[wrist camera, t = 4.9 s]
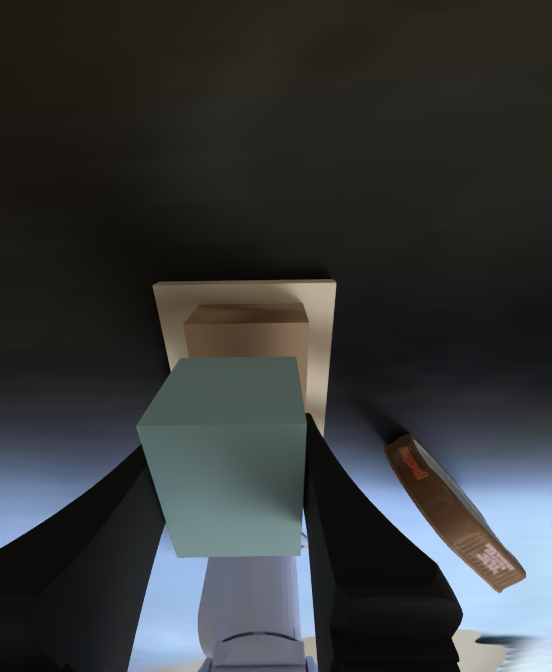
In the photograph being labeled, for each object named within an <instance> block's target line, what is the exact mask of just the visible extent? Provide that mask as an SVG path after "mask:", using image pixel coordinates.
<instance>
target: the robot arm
mask: <svg viewBox="0 0 552 672" xmlns="http://www.w3.org/2000/svg"><path fill="white" fill-rule="evenodd" d="M305 415H306V422H307V430H306V451H305V471H304V492H303V509H304V515H305V521H306V529H307V537H308V539H307V538H306V537H305V536H303V535H302V534H301V549H304V548H306V547H308V548H309V560H310V572H311V584H312V596H313V609H314V622H315V635H316V647H317V660H318V661H317V662H318V666H317V664H316V663H315V662H314V659H313V657H311V656H306V658H305V651H304V642H303V641H301V626H300V611H299V596H298V580H297V565H296V556H245V557H209V558H208V564H207V569H206V574H205V580H204V585H203V590H202V595H201V601H200V606H199V612H198V634H199V641H200V645H201V648H202V650H203V652H204V654H205V655H206V657H207V659H206V660H205V661H204V663H203V665H202V666H201V668H200V669H199V670H198V672H460V669H459V667H458V665H457V662H459V655H458V653H457V650H456V648H455V646H454V643H453V641H452V636H453V635H454V633H455V632H456V630H457V629H458V627H459V625H460V623H461V621H462V617H463V612H462V609H461V607H460V605H459V602H458V600H457V598H456V596H455V594H454V592H453V590H452V588H451V587H450V585H449V583H448V581H447V580H446V578H445V576H444V575H443V573H442V571H441V570H440V568H439V566H438V565H437V563H435V562H434V561H433V560H432V559H431V558H429V557H428V556H427V555H426V554H425V553H424V552H422V551H421V550H420V549H419V548H418V547H417V546H416V545H414V544H413V543H412V542H411V541H410V540H409V539H408V538H407V537H406V536H405V535H403V534H402V533H401V532H400V531H399V530H398V529H397V528H396V527H395V526H394V525H393V524H392V523H391V522H390V521H389V520H388V519H387V518H386V517H385V516H384V515H383V514H382V513H381V512H380V511H379V510H378V509H377V508H376V507H375V506H374V505H373V504H372V502H371V501H370V500H369V499H368V498H367V497H366V496H365V495H364V493H363V492H362V491H361V490H360V489H359V488H358V486H357V485H356V484H355V483H354V482H353V480H352V479H351V478H350V477H349V475H348V474H347V473H346V471H345V470H344V469H343V467H342V466H341V464H340V463H339V462H338V460H337V459H336V457H335V456H334V454H333V453H332V451H331V450H330V448H329V446H328V445H327V443H326V442H325V440H324V438H323V437H322V435H321V433H320V431H319V429H318V427H317V426H316V423H315V421H314V419H313V417H312V415H311V414H310V413H305ZM165 523H166V520H165V517H164V514H163V511H162V508H161V504H160V501H159V498H158V495H157V492H156V488H155V485H154V482H153V479H152V476H151V472H150V469H149V466H148V463H147V460H146V457H145V453H144V450H143V447H142V444H141V445H140V446H139V447H138V448H137V449H136V450H135V451H133V452H132V453H131V454H130V455H129V456H128V457H127V458H126V459H125V460H124V461H123V462H121V463H120V464H119V465H118V466H117V467H116V468H115V469H114V470H113V471H111V472H110V473H109V474H108V475H107V476H105V477H104V478H103V479H102V480H101V481H99V482H98V483H97V484H95V485H94V486H93V487H92V488H90V489H89V490H88V491H86V492H85V493H84V494H82V495H81V496H80V497H78V498H77V499H76V500H74V501H73V502H71V503H70V504H68V505H67V506H66V507H64V508H63V509H61V510H60V511H59V512H57V513H56V514H54V515H53V516H51V517H50V518H48V519H47V520H45V521H44V522H42V523H41V524H39V525H38V526H36V527H35V528H33V529H31V530H30V531H28V532H27V533H25V534H23V535H22V536H20V537H19V538H17V539H15V540H14V541H12V542H10V543H9V544H7V545H5V546H4V547H2V548H0V672H127V670H128V665H129V661H130V656H131V652H132V647H133V643H134V638H135V634H136V630H137V626H138V622H139V617H140V613H141V609H142V605H143V601H144V597H145V593H146V589H147V585H148V581H149V578H150V574H151V570H152V566H153V563H154V559H155V556H156V552H157V548H158V545H159V541H160V538H161V535H162V532H163V529H164V526H165Z"/></svg>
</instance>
